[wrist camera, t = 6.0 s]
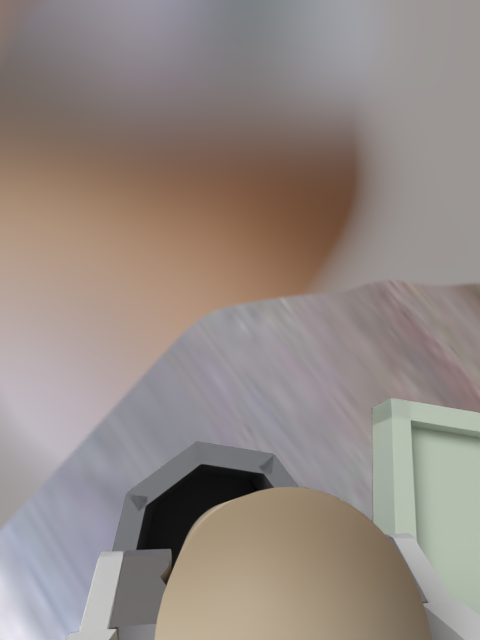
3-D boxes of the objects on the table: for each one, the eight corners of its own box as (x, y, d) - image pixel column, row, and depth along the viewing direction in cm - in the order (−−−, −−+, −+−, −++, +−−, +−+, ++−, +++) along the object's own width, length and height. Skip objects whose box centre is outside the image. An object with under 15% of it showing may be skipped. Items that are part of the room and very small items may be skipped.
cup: (287, 660, 17) (324, 721, 12) (106, 635, 17) (72, 686, 12) (300, 470, 21) (333, 458, 16) (150, 445, 21) (137, 426, 16)
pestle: (273, 622, 15) (446, 871, 5) (172, 606, 15) (117, 825, 5) (283, 510, 17) (424, 507, 7) (192, 495, 17) (186, 468, 6)
